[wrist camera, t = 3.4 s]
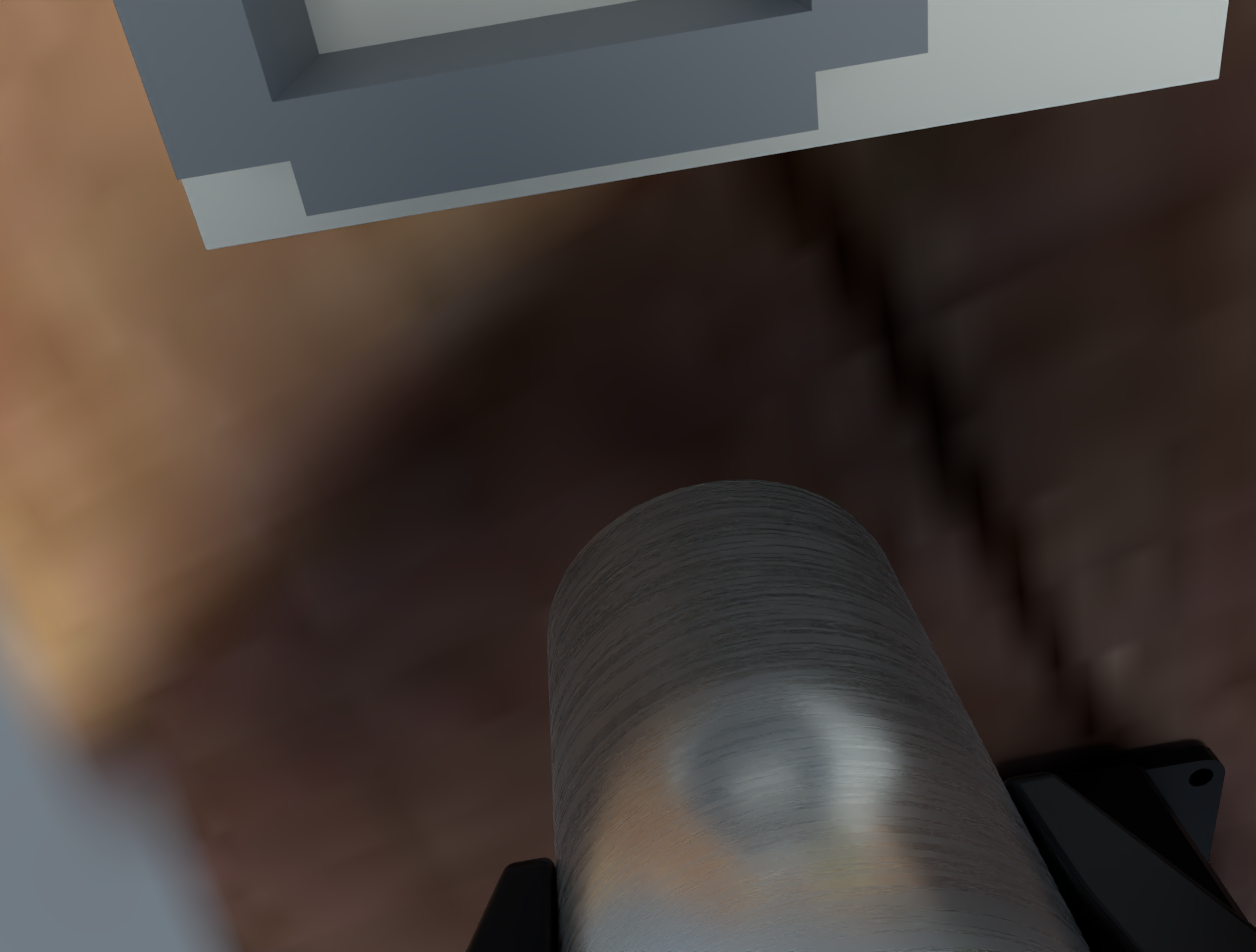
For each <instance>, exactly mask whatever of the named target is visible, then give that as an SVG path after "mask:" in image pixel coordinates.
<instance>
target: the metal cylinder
mask: <svg viewBox="0 0 1256 952" xmlns="http://www.w3.org/2000/svg"><path fill="white" fill-rule="evenodd" d="M547 652H548V679H549V706H550V733H551V760H552V787H553V814H554V841H555V868H556V892H557V919H558V946H559V952H1091V951H1090V949H1089V947H1088V945H1087V943H1086V941H1085V939H1084V937H1083V936H1082V934H1081V932H1080V930H1079V928H1078V926H1077V924H1076V922H1075V920H1074V918H1073V916H1072V914H1071V912H1070V910H1069V908H1068V907H1067V905H1066V903H1065V901H1064V899H1063V897H1062V895H1061V893H1060V891H1059V889H1058V887H1057V885H1056V883H1055V881H1054V879H1053V878H1052V876H1051V874H1050V872H1049V870H1048V868H1047V866H1046V864H1045V862H1044V860H1043V858H1042V856H1041V854H1040V852H1039V850H1038V849H1037V847H1036V845H1035V843H1034V841H1033V839H1032V837H1031V835H1030V833H1029V831H1028V829H1027V827H1026V825H1025V823H1024V822H1023V820H1022V818H1021V816H1020V814H1019V812H1018V810H1017V808H1016V806H1015V804H1014V802H1013V800H1012V798H1011V796H1010V794H1009V793H1008V791H1007V789H1006V787H1005V785H1004V783H1003V781H1002V779H1001V777H1000V775H999V773H998V771H997V769H996V767H995V765H994V764H993V762H992V760H991V758H990V756H989V754H988V752H987V750H986V748H985V746H984V744H983V742H982V740H981V738H980V736H979V735H978V733H977V731H976V729H975V727H974V725H973V723H972V721H971V719H970V717H969V715H968V713H967V711H966V709H965V708H964V706H963V704H962V702H961V700H960V698H959V696H958V694H957V692H956V690H955V688H954V686H953V684H952V682H951V680H950V679H949V677H948V675H947V673H946V671H945V669H944V667H943V665H942V663H941V661H940V659H939V657H938V655H937V653H936V651H935V650H934V648H933V646H932V644H931V642H930V640H929V638H928V636H927V634H926V632H925V630H924V628H923V626H922V624H921V622H920V621H919V619H918V617H917V615H916V613H915V611H914V609H913V607H912V605H911V603H910V601H909V599H908V597H907V595H906V594H905V592H904V590H903V588H902V586H901V584H900V582H899V580H898V578H897V576H896V574H895V572H894V570H893V568H892V566H891V565H890V563H889V561H888V559H887V557H886V555H885V553H884V551H883V549H882V548H881V546H880V545H879V543H878V542H877V541H876V539H875V538H874V536H873V535H872V533H871V532H870V531H869V530H868V529H867V528H866V527H865V526H864V525H863V524H862V523H861V522H860V521H859V520H858V519H857V518H856V517H854V516H853V515H852V514H850V513H849V512H848V511H846V510H845V509H844V508H842V507H841V506H839V505H837V504H835V503H834V502H832V501H830V500H828V499H826V498H825V497H823V496H820V495H818V494H815V493H813V492H810V491H807V490H805V489H802V488H799V487H795V486H791V485H787V484H782V483H778V482H770V481H762V480H722V481H713V482H705V483H700V484H696V485H691V486H687V487H683V488H679V489H676V490H673V491H670V492H668V493H665V494H662V495H659V496H656V497H654V498H652V499H650V500H648V501H646V502H644V503H642V504H640V505H638V506H635V507H634V508H632V509H630V510H629V511H627V512H626V513H624V514H623V515H621V516H619V517H618V518H616V519H615V520H613V521H612V522H611V523H610V524H608V525H607V526H606V527H605V528H603V529H602V530H601V531H600V532H599V533H597V534H596V535H595V536H594V537H593V538H592V539H591V540H590V541H589V542H588V543H587V544H586V545H585V547H584V548H583V549H582V550H581V551H580V552H579V553H578V555H577V556H576V558H575V559H574V560H573V562H572V563H571V564H570V566H569V567H568V569H567V570H566V572H565V574H564V576H563V578H562V580H561V582H560V584H559V585H558V587H557V590H556V593H555V596H554V599H553V602H552V604H551V609H550V614H549V619H548V626H547Z"/></svg>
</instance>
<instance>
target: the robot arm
mask: <svg viewBox="0 0 1256 952" xmlns="http://www.w3.org/2000/svg"><path fill="white" fill-rule="evenodd" d="M1224 776H1225V769H1224V766H1223V765H1222V763H1221V762H1220V761H1219V759H1218V758H1217V757H1216V756H1215V754H1214V753H1213V752H1212V751H1211V750H1210V748H1207V747H1204V746H1191V747H1185V748H1179V749H1173V750H1167V751H1161V752H1156V753H1150V754H1144V755H1138V756H1132V757H1126V758H1120V759H1114V760H1108V761H1103V762H1097V763H1091V764H1085V765H1079V766H1073V767H1067V768H1061V769H1055V770H1050V771H1044V772H1038V773H1032V774H1026V775H1020V776H1014V777H1008V778H1002V781H1003V783H1004V785H1005V787H1006V789H1007V791H1008V793H1009V794H1010V796H1011V798H1012V800H1013V802H1014V804H1015V806H1016V808H1017V810H1018V812H1019V814H1020V816H1021V818H1022V820H1023V822H1024V823H1025V825H1026V827H1027V829H1028V831H1029V833H1030V835H1031V837H1032V839H1033V841H1034V843H1035V845H1036V847H1037V849H1038V850H1039V852H1040V854H1041V856H1042V858H1043V860H1044V862H1045V864H1046V866H1047V868H1048V870H1049V872H1050V874H1051V876H1052V878H1053V879H1054V881H1055V883H1056V885H1057V887H1058V889H1059V891H1060V893H1061V895H1062V897H1063V899H1064V901H1065V903H1066V905H1067V907H1068V908H1069V910H1070V912H1071V914H1072V916H1073V918H1074V920H1075V922H1076V924H1077V926H1078V928H1079V930H1080V932H1081V934H1082V936H1083V937H1084V939H1085V941H1086V943H1087V945H1088V947H1089V949H1090V951H1091V952H1256V927H1254V926H1253V925H1252V924H1250V923H1249V922H1248V920H1247V919H1246V917H1245V916H1244V914H1243V913H1242V911H1241V910H1240V909H1239V907H1238V906H1237V904H1236V903H1235V901H1234V900H1233V898H1232V897H1231V895H1230V894H1229V892H1228V891H1227V889H1226V888H1225V886H1224V885H1223V883H1222V882H1221V880H1220V879H1219V878H1218V876H1217V875H1216V873H1215V872H1214V870H1213V869H1212V867H1211V866H1210V864H1209V863H1208V861H1209V855H1210V850H1211V845H1212V839H1213V834H1214V829H1215V823H1216V818H1217V813H1218V808H1219V802H1220V797H1221V792H1222V786H1223V781H1224ZM466 952H559V946H558V919H557V892H556V869H555V865H554V863H553V862H552V860H551V859H549V858H538V859H532V860H527V861H521V862H515V863H512V864H509V865H508V866H507V867H506V868H505V869H504V871H503V873H502V875H501V876H500V879H499V881H498V883H497V885H496V887H495V890H494V892H493V894H492V896H491V898H490V900H489V903H488V905H487V907H486V909H485V911H484V913H483V916H482V918H481V920H480V922H479V924H478V926H477V929H476V931H475V933H474V935H473V937H472V939H471V942H470V944H469V946H468V948H467V950H466Z"/></svg>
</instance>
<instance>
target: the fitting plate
mask: <svg viewBox="0 0 1256 952" xmlns="http://www.w3.org/2000/svg"><path fill="white" fill-rule="evenodd" d="M1228 1H1229V0H113V2H114V4H115V7H116V10H117V13H118V16H119V18H120V21H121V24H122V27H123V30H124V32H125V35H126V38H127V41H128V43H129V46H130V49H131V52H132V55H133V57H134V60H135V63H136V66H137V69H138V71H139V74H140V77H141V80H142V83H143V85H144V88H145V91H146V94H147V97H148V99H149V102H150V105H151V108H152V111H153V113H154V116H155V119H156V122H157V125H158V127H159V130H160V133H161V136H162V139H163V141H164V144H165V147H166V150H167V152H168V155H169V158H170V161H171V164H172V166H173V169H174V172H175V175H176V178H177V180H180V179H181V180H182V183H183V186H184V189H185V191H186V194H187V197H188V200H189V203H190V205H191V208H192V211H193V214H194V217H195V219H196V222H197V225H198V228H199V231H200V233H201V236H202V239H203V242H204V245H205V248H206V250H210V249H216V248H222V247H228V246H234V245H240V244H246V243H252V242H258V241H264V240H269V239H275V238H281V237H287V236H293V235H299V234H305V233H311V232H317V231H323V230H328V229H334V228H340V227H346V226H352V225H358V224H364V223H370V222H376V221H382V220H388V219H393V218H399V217H405V216H411V215H417V214H423V213H429V212H435V211H441V210H447V209H452V208H458V207H464V206H470V205H476V204H482V203H488V202H494V201H500V200H506V199H511V198H517V197H523V196H529V195H535V194H541V193H547V192H553V191H559V190H565V189H570V188H576V187H582V186H588V185H594V184H600V183H606V182H612V181H618V180H624V179H630V178H635V177H641V176H647V175H653V174H659V173H665V172H671V171H677V170H683V169H689V168H694V167H700V166H706V165H712V164H718V163H724V162H730V161H736V160H742V159H748V158H753V157H759V156H765V155H771V154H777V153H783V152H789V151H795V150H801V149H807V148H812V147H818V146H824V145H830V144H836V143H842V142H848V141H854V140H860V139H866V138H871V137H877V136H883V135H889V134H895V133H901V132H907V131H913V130H919V129H925V128H931V127H936V126H942V125H948V124H954V123H960V122H966V121H972V120H978V119H984V118H990V117H995V116H1001V115H1007V114H1013V113H1019V112H1025V111H1031V110H1037V109H1043V108H1049V107H1054V106H1060V105H1066V104H1072V103H1078V102H1084V101H1090V100H1096V99H1102V98H1108V97H1113V96H1119V95H1125V94H1131V93H1137V92H1143V91H1149V90H1155V89H1161V88H1167V87H1173V86H1178V85H1184V84H1190V83H1196V82H1202V81H1208V80H1214V79H1219V72H1220V64H1221V56H1222V49H1223V41H1224V33H1225V25H1226V17H1227V9H1228Z"/></svg>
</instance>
